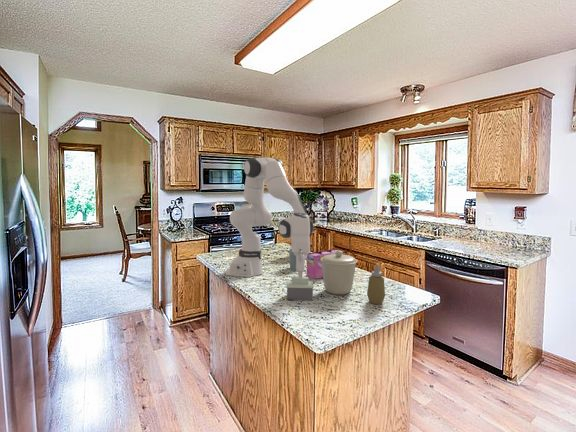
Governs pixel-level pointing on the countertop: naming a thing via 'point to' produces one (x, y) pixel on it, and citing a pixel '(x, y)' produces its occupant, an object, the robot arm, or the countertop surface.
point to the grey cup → (292, 260)
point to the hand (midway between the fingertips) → (300, 276)
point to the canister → (338, 272)
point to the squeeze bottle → (376, 287)
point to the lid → (300, 283)
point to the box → (299, 293)
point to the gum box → (317, 263)
